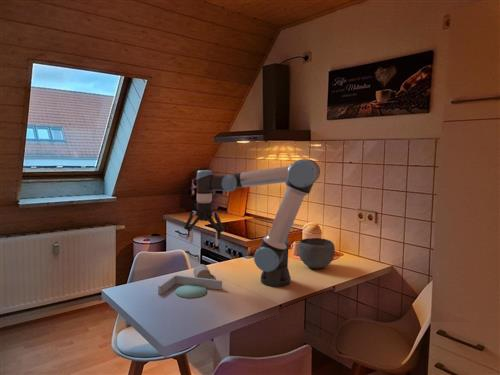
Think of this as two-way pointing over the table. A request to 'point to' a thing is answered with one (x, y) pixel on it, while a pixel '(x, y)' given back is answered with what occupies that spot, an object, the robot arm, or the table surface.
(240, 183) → the robot arm
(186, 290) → the mat
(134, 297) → the table surface
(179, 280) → the divider wall
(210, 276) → the ceramic mug
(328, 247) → the bowl
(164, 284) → the end wall
